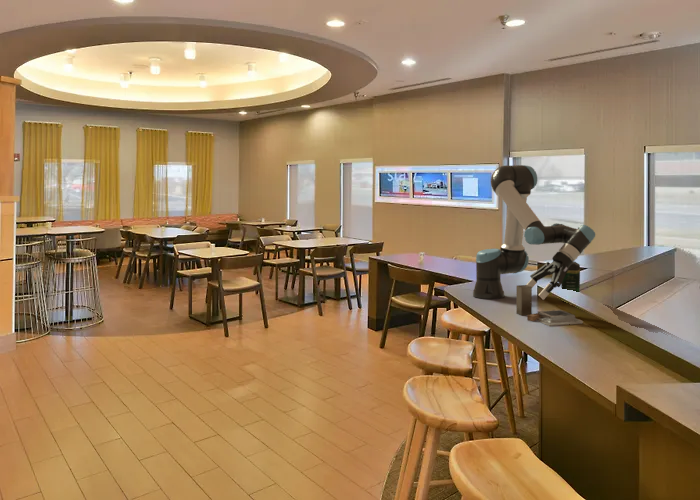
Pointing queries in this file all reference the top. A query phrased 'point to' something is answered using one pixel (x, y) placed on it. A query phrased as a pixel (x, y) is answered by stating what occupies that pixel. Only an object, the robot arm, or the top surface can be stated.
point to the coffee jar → (572, 278)
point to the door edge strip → (533, 317)
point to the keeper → (557, 318)
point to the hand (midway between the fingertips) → (532, 294)
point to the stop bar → (523, 300)
